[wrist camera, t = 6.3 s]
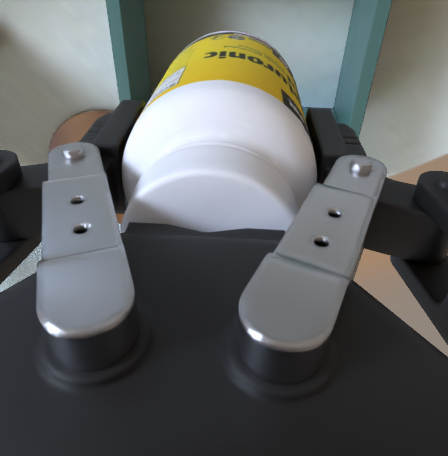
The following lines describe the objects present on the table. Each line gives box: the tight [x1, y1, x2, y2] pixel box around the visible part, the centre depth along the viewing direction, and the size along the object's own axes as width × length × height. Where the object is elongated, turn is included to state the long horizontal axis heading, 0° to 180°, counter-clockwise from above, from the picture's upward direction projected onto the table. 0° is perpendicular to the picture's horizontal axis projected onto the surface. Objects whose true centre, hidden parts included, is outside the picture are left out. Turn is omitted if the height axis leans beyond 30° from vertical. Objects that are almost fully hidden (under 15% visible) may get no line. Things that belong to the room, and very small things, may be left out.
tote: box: [106, 0, 392, 138], centre depth 25 cm, size 16×13×6 cm
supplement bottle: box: [121, 31, 317, 233], centre depth 13 cm, size 5×5×10 cm
